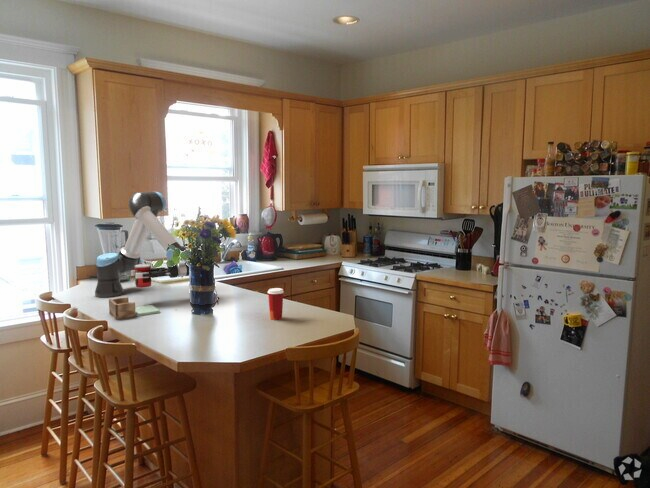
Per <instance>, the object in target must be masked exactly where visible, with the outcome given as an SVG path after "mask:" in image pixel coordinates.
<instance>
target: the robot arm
mask: <svg viewBox="0 0 650 488" xmlns="http://www.w3.org/2000/svg"><path fill="white" fill-rule="evenodd" d="M166 204H167V202H166V200H165V197H164V195H163V194H162V193H161V192H158V191H136V192H134V193H133V194H132V195H131V196H130V197H129V199H128V208H129V211H130V213H131V215H133V217H134V218H135V221H134V222H133V224H132V228H131V230H130V232H129V235H128V237H127V240H126V242H125V244H124V246H122V247H121V248H120V250H119V252H118V253H117V252H108V253H103V254H100V255H99V256H97V257H96V263H95V264H96V277H97V284H96V287H95V290H94V295H95V296H94V297H96V298H112V297H118V296H122V295H124V293H125V292H124V288H123V286H122V283H121V280H120V275H122V274H127V273H128V274H129V273H130V275H131V276H132V277H135V275H136V279H137V278H147V277H151V279H154V278H162V277H169V278H170V279H173V278H179V277H180V278H184V277H190V276H189V267H188V266H187V265H186V263H187V262H181V261H183V260H181V261H180V262H178V264H177V263H175V264H176V265H175V266H173V267H168V266H167V267H162V266H161V267H152V268H151V271H149V272H143V273H135V265H139V264H142V260H141V259H142V258H141V254H140V250H141V248H142V245H143V243H144V241H145V239H146V236H147V233H148V231H149V233H151V235H152V236H153V237H154V238H155V239H156V241H157V242H158V243H159V245H161V246H162V248H163V249H164V250H165V251H166V254H165V255H166V257H167V260H168V261H169V259H171V258H172V256H173V250H172V249H170V248H169V246H168V244H169V245H174V246H175V248H176V249H180V250H181V251H184V250H185V248H184V246H185V245H181V244H180V243H179V242H178V241H177V240H176V239H175V237H174V236H173V234H171V232H170V231H168V229H167V228H166V227H165V226H164V224H163V223H162V222H161V221H160V220H159V218H157V217H158V215H159V213H161V212H163V211H164V210H165V209H166Z"/></svg>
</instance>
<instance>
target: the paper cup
mask: <svg viewBox="0 0 650 488" xmlns="http://www.w3.org/2000/svg"><path fill="white" fill-rule="evenodd" d="M284 292H285V291H284V289H283V288H280V287H274V288H273V287H272V288H269V289H268V290H267V296H268V297H267V298H268V307H269V310H268V311H269V318H270V320H273V321H279V320H282V319H283V305H284Z"/></svg>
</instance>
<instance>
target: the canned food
mask: <svg viewBox="0 0 650 488" xmlns="http://www.w3.org/2000/svg"><path fill="white" fill-rule="evenodd" d="M151 267H152V265H151V264H149V263H148V264H147V263H141V264H139V265H135V273H143V272H149V271H151ZM134 277H135V278H134V281H135V287H137V288H149V287H151V286H152V277H147V278H137V279H136V275H135V276H134Z"/></svg>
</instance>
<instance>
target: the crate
mask: <svg viewBox="0 0 650 488" xmlns="http://www.w3.org/2000/svg"><path fill="white" fill-rule="evenodd" d="M108 308H109V309H108V311H109V312H108V313H109V315H110V316H112V317H113V318H114V319H115V320H121V319H130V318H136V317H142V316H149V315H154V314H161V311H160V309H158V307H155V306H154V305H152V304H150V305H149V304H147V305H142V306H136V302H135V301H132V302H129V297H128V296H124V297H117V298H116V297H115V298H111V299H109V298H108Z"/></svg>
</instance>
